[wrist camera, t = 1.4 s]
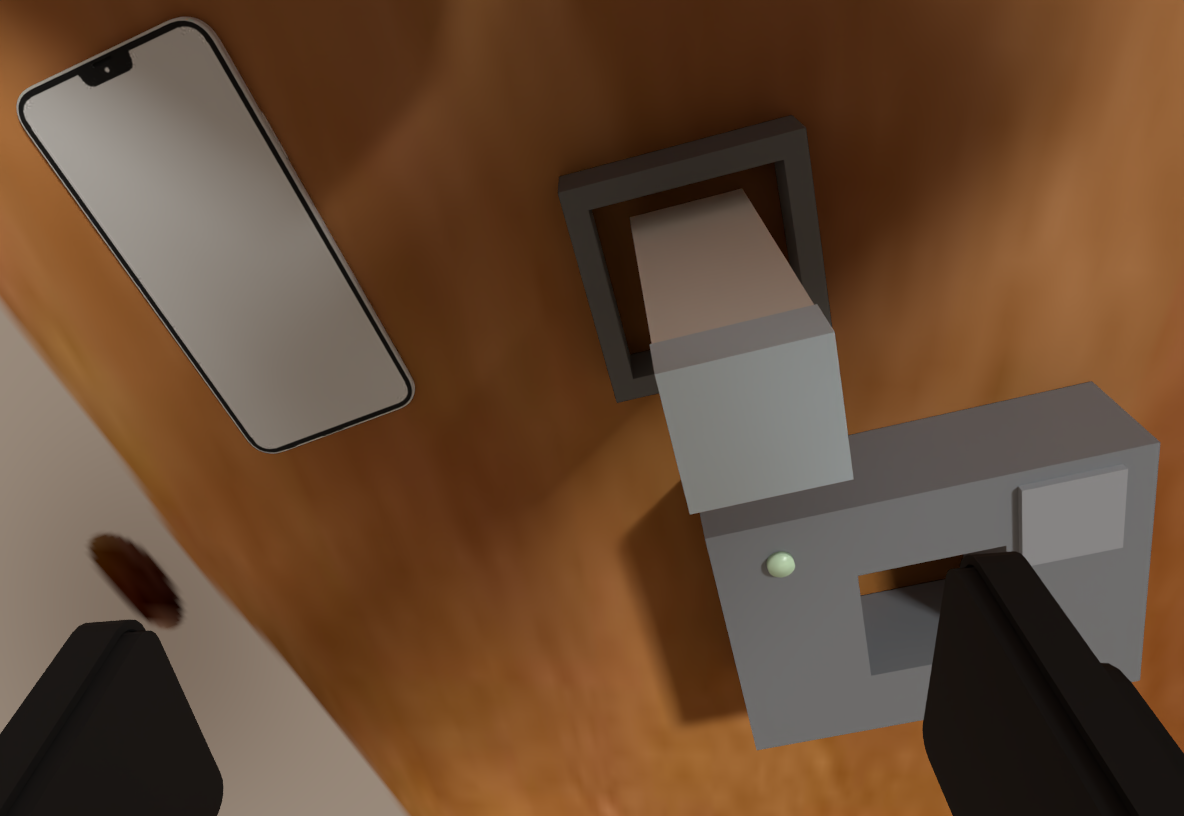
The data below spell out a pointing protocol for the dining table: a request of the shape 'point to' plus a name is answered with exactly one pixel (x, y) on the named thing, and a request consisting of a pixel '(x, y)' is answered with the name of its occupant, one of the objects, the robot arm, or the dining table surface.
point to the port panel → (932, 554)
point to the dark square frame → (676, 169)
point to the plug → (738, 356)
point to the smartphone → (218, 233)
